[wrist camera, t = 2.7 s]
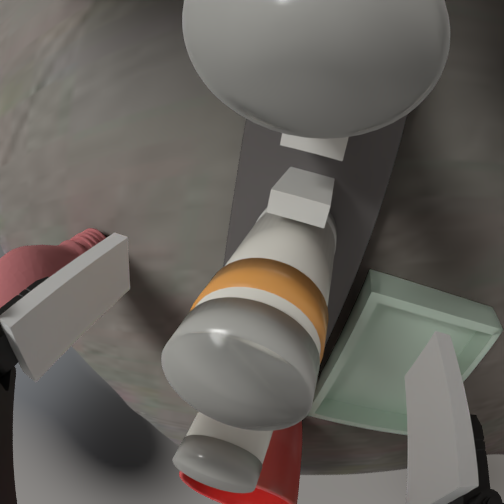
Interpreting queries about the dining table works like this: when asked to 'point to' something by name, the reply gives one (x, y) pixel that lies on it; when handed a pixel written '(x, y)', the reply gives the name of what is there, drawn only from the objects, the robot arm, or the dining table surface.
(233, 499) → the flower pot
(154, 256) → the dining table surface
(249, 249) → the cylinder
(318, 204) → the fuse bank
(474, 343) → the tray
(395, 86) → the white rounded cylinder
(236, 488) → the fuse
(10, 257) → the light bulb
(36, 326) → the robot arm
